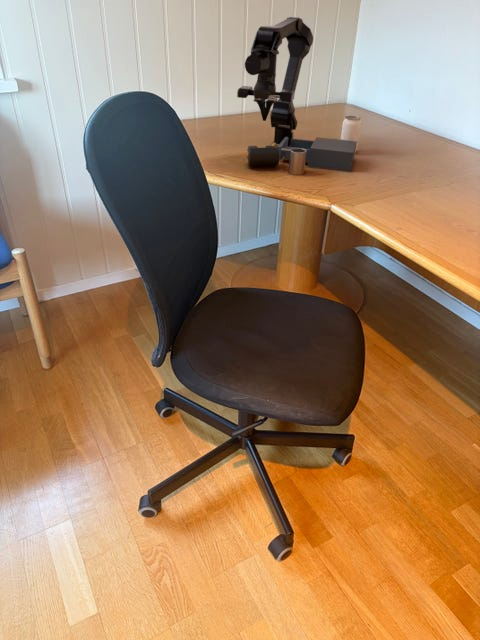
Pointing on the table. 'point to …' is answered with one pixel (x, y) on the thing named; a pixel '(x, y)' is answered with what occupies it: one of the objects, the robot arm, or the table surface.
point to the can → (351, 129)
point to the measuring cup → (296, 160)
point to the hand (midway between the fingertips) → (264, 120)
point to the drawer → (294, 144)
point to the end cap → (263, 157)
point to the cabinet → (332, 154)
